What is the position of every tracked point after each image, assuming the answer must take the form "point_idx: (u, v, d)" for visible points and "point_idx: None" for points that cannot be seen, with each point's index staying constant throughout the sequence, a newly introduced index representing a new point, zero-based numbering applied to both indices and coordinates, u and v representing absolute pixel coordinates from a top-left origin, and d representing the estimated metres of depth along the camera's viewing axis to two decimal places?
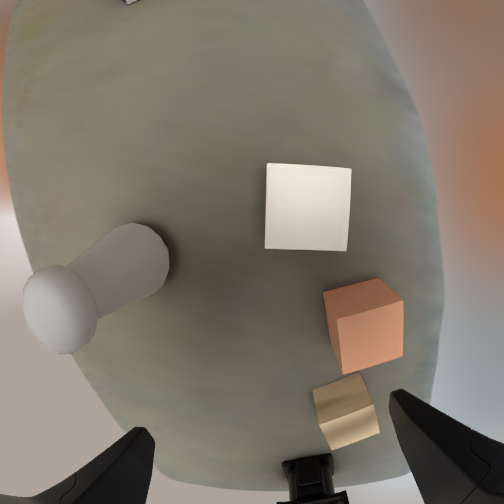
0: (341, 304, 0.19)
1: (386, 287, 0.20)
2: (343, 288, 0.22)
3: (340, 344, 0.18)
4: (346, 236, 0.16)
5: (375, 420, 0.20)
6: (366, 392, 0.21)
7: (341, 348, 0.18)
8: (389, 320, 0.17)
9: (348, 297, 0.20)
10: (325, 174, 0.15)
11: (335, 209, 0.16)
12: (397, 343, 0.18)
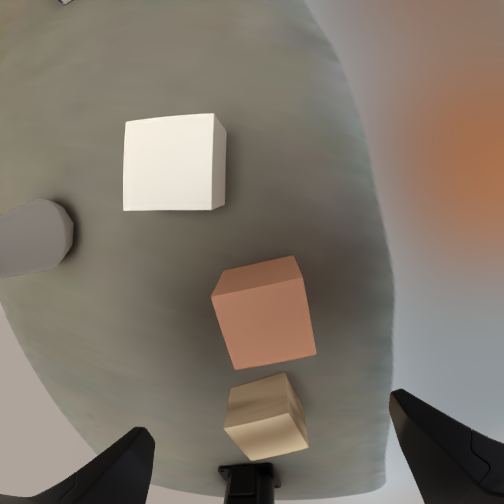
0: (229, 282, 0.17)
1: (294, 264, 0.17)
2: (246, 266, 0.19)
3: (222, 330, 0.15)
4: (210, 192, 0.14)
5: (297, 432, 0.17)
6: (285, 397, 0.18)
7: (224, 335, 0.15)
8: (285, 303, 0.15)
9: (243, 275, 0.17)
10: (182, 123, 0.13)
11: (195, 161, 0.13)
12: (304, 336, 0.15)
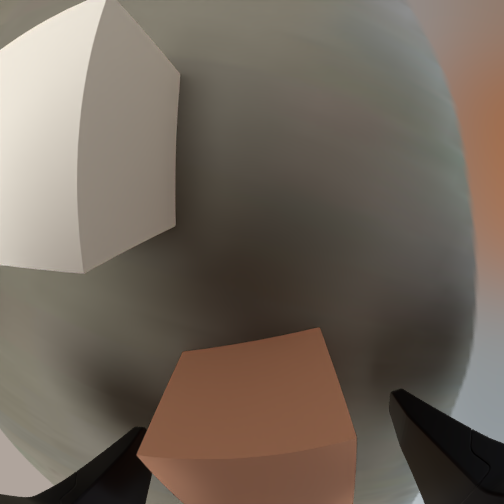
0: (183, 405, 0.07)
1: (326, 367, 0.07)
2: (225, 350, 0.09)
3: (174, 492, 0.05)
4: (74, 215, 0.04)
5: None
6: None
7: (180, 498, 0.05)
8: (305, 476, 0.05)
9: (214, 385, 0.07)
10: (39, 38, 0.03)
11: (43, 123, 0.03)
12: (337, 500, 0.05)
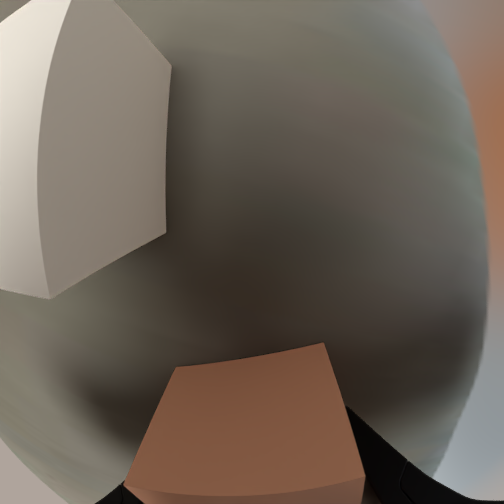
0: (173, 432, 0.06)
1: (332, 391, 0.06)
2: (220, 368, 0.08)
3: None
4: (36, 230, 0.03)
5: None
6: None
7: None
8: None
9: (207, 409, 0.06)
10: (9, 28, 0.02)
11: (5, 122, 0.02)
12: None
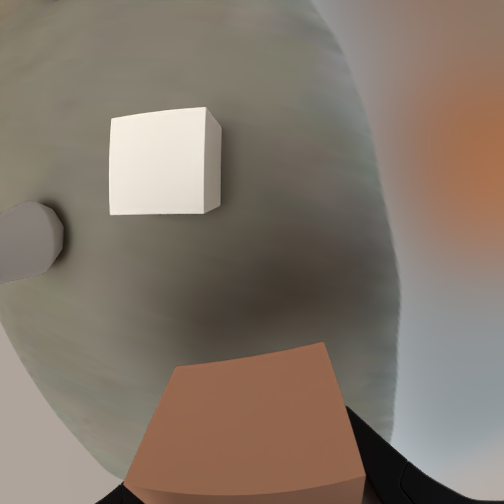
0: (173, 431, 0.06)
1: (332, 391, 0.06)
2: (220, 368, 0.08)
3: None
4: (202, 194, 0.12)
5: None
6: None
7: None
8: None
9: (207, 408, 0.06)
10: (171, 119, 0.11)
11: (185, 160, 0.12)
12: None
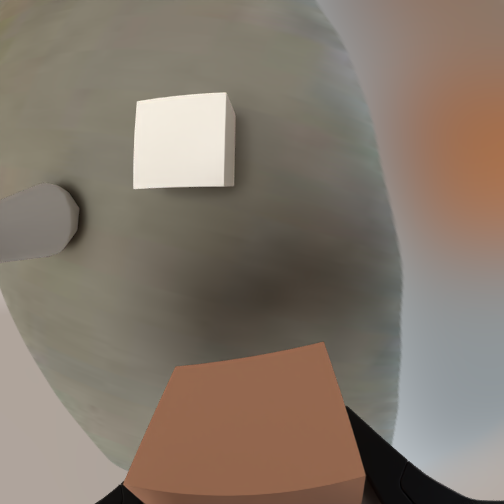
0: (173, 431, 0.06)
1: (332, 391, 0.06)
2: (220, 368, 0.08)
3: None
4: (222, 168, 0.13)
5: None
6: None
7: None
8: None
9: (207, 408, 0.06)
10: (195, 102, 0.13)
11: (207, 138, 0.13)
12: None
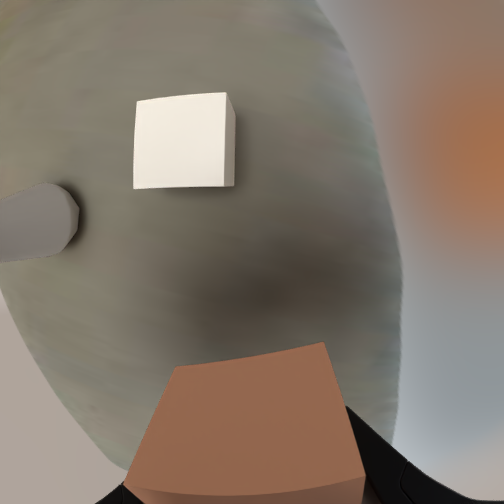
0: (173, 431, 0.06)
1: (332, 391, 0.06)
2: (220, 368, 0.08)
3: None
4: (222, 168, 0.13)
5: None
6: None
7: None
8: None
9: (207, 408, 0.06)
10: (195, 102, 0.13)
11: (207, 138, 0.13)
12: None
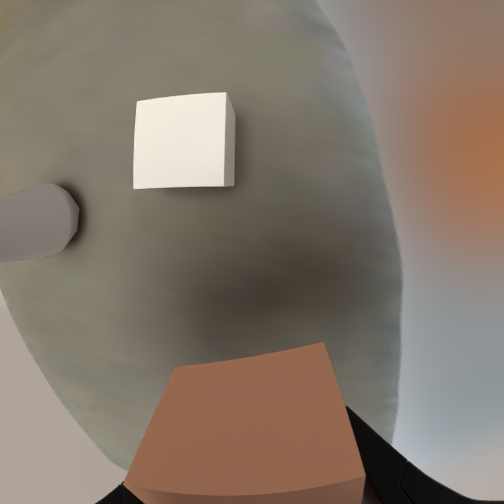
0: (173, 431, 0.06)
1: (332, 391, 0.06)
2: (220, 368, 0.08)
3: None
4: (222, 168, 0.13)
5: None
6: None
7: None
8: None
9: (207, 408, 0.06)
10: (195, 102, 0.13)
11: (207, 138, 0.13)
12: None
